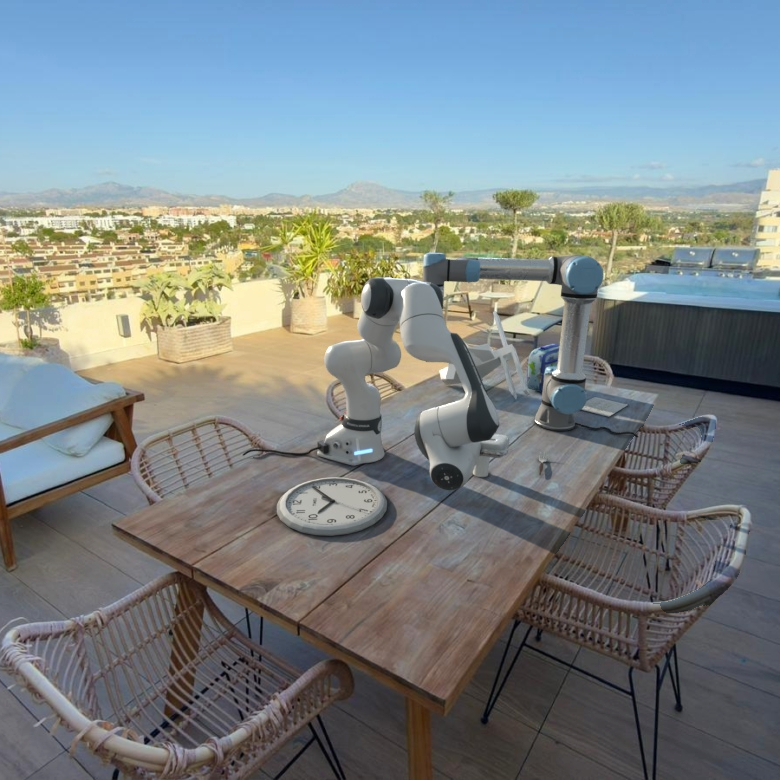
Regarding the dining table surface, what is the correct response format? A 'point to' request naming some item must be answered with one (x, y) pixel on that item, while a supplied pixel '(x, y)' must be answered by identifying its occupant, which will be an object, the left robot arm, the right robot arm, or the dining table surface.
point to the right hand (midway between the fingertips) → (430, 357)
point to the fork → (542, 461)
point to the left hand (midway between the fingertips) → (472, 430)
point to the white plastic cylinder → (481, 467)
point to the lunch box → (541, 365)
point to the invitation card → (603, 406)
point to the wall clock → (331, 506)
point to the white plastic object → (490, 362)
